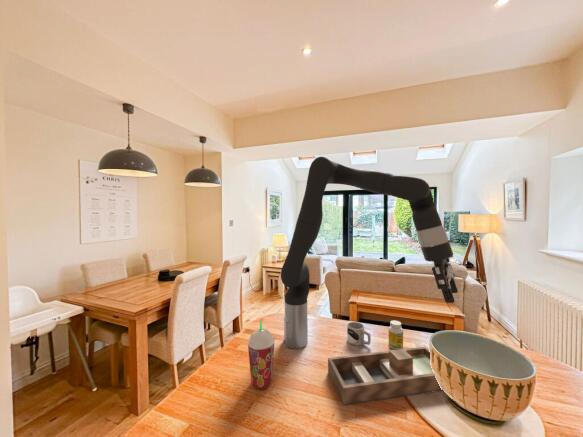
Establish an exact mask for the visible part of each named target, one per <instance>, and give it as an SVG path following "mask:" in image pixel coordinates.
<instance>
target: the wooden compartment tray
mask: <svg viewBox="0 0 583 437" xmlns="http://www.w3.org/2000/svg"><path fill="white" fill-rule="evenodd" d="M403 349H404V350H405V351H406V352H407V353H408V354H409V355H410V356H411V357H413V374H406V375H399V376H398V375H397V374H396V372H395V371H394V370H393V369H392V368H391V367H390V366H389V351H390V350H384V351H383V350H382V351H377V352H376V351H375V352H368V353H360V354H349V355H344V356H341V355H340V356H334V357H332V356H331V357H327V374H328V375H329V377H330V380H331V382H332V384H333V386H334V388H335V391H336V392H337V395H338V397H339V399H340V401H341V403H342V406H349V405H357V404H362V403H369V402H374V401H375V402H376V401H381V400H382V401H383V400H389V399H395V398H401V397H408V395H410V396H416V395H422V393H423V394H427V393H426V392H429V393H433V392H432V391H436V392H442V390H441V388H440V386H439V384H438V382H437V380H436V378H435V375H434V373H433V371H432V368H431V365H430V352H429V350H430V349H428V348H427V347H426V346H420V347H419V346H418V347H411V348H410V347H409V348H403Z"/></svg>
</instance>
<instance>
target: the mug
mask: <svg viewBox="0 0 583 437" xmlns="http://www.w3.org/2000/svg"><path fill="white" fill-rule="evenodd" d="M346 330H347V331H346V333H347V334H346V335H347V336H346V337H347V343H348V344H350V346H351V345H352V346H356V347H360V346H363V345H367V346H370V344H371V339H372V338H371V334H370V332H368V331H367V330H365V325H364V324H363V323H362V322H359V321H358V322H357V321H350V322H348V323H347V329H346ZM365 335H366V337H367V340H365Z"/></svg>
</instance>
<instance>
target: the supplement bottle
mask: <svg viewBox="0 0 583 437" xmlns="http://www.w3.org/2000/svg"><path fill="white" fill-rule="evenodd" d="M389 325H390V326H389V327H388V346H389V348H391V349H392V350H398V349H404V329H403V328H402V322H401V321H399V320H394V319H393V320H390V323H389Z"/></svg>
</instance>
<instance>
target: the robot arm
mask: <svg viewBox="0 0 583 437" xmlns="http://www.w3.org/2000/svg"><path fill="white" fill-rule="evenodd" d="M306 180H307V181H306V185H305V190H304V191H305V192H304V196H303V200H302V203H301V207H300V211H299V213H298V217H297V220H296V223H295V227H294V232H293V235H292V238H291V241H290V242H291V243H290V246H289V249H288V252H287V255H286V257H285V260H284V263H283V265H282V267H281V271H280V280H281V282H282V284H283V285H284V286H285V287H286V288H288V289H287V290H286V292H285V294H284V317H283V332H284V333H283V334H284V336H283V338H284V344H285V348H291V349H296V350H297V349H303V348H305V347H307V345H308V344H309V339H308V338H309V335H308V334H309V333H308V330H309V329H308V328H309V327H308V324H309V323H308V297H309V295H310V294H309V293H310V270H309V267H308V265H307V264H306V263H305V259H306V257H307V254H308V253H309V251H310V250H311V248H312V246H314V243H315V242H316V240H317V237H318V236H319V233H320V230H321V227H322V226H321V225H322V222H323V216H324V215H323V197H324V194H325V191H326V188H327V185H331V184H332V185H333V184H335V185H346V186H350V187H355V188H356V189H357V188H358V189H361V190H364V191H367V192H371V193H374V194H378V195H385V196H390V197H394V198H398V199H401V200H406V201H408V203H409V206H410V210H411V212H412V215H411V217H412V221H413V225H414V228H415V231H416V234H417V240H418V243H419V245H420V249H421V252H422V255H423V258H424V260H425V262H433V267H431V271H432V274H433V276H434V280H435V283H436V286H437V289H438V290H441V292H442V296H443V298H444V302H445V303H446V304H448V303H449V304H452V303H455V297H454V295H453V294H457V293H458V292H459V289H458V287H457V284H456V281H455V280H456V279H455V278H456V277H455V275H456V274H455V273H454V270H453V267H452V264H451V263H452V262H451V261H450V258H452V257H453V256H454V251H453V250H452V245H451V244H450V241H449V237H448V235H447V232H446V230H445V229H444V226H443V223H442V219H441V217H440V214H439V212H438V210H437V209H436V204H435V200H434V197H433V193H432V189H431V187H430V185H429V183H428V182H427V181H425V179H422V178H420V177H414V176H406V175H398V174H393V173H389V172H384V171H381V170H380V171H379V170H373V169H372V170H371V169H360V168H353V167H349V166H345V165H343V164H342V163H339V162H336V161H335V160H333V159H331V158H328V157H326V156H318V157H315V159H314V160H313V161H312V162H311V163H310V166H309V168H308V174H307V179H306ZM443 282H444V283H443Z"/></svg>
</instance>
